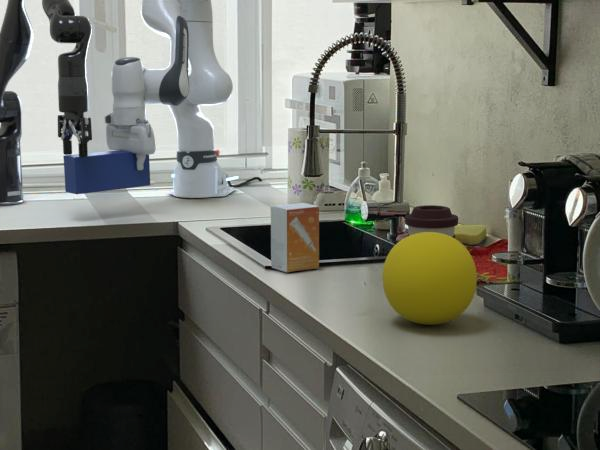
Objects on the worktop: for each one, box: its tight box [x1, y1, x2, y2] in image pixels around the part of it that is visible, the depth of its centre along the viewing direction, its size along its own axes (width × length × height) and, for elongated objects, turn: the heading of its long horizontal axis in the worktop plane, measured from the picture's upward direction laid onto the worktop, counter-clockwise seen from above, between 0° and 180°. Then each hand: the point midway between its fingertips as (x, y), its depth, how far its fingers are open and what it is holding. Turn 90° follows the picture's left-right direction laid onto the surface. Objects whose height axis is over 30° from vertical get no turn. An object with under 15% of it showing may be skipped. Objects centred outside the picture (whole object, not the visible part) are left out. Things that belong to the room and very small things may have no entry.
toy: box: [381, 232, 478, 326], centre depth 170 cm, size 15×15×15 cm
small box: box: [270, 202, 320, 273], centre depth 214 cm, size 8×6×13 cm
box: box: [63, 150, 151, 195], centre depth 281 cm, size 22×6×10 cm, turn 129°
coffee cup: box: [404, 204, 459, 239], centre depth 197 cm, size 10×10×15 cm
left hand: (75, 155), depth 274 cm, fingers open, 8 cm apart
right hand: (132, 168), depth 286 cm, fingers closed on box, 6 cm apart
